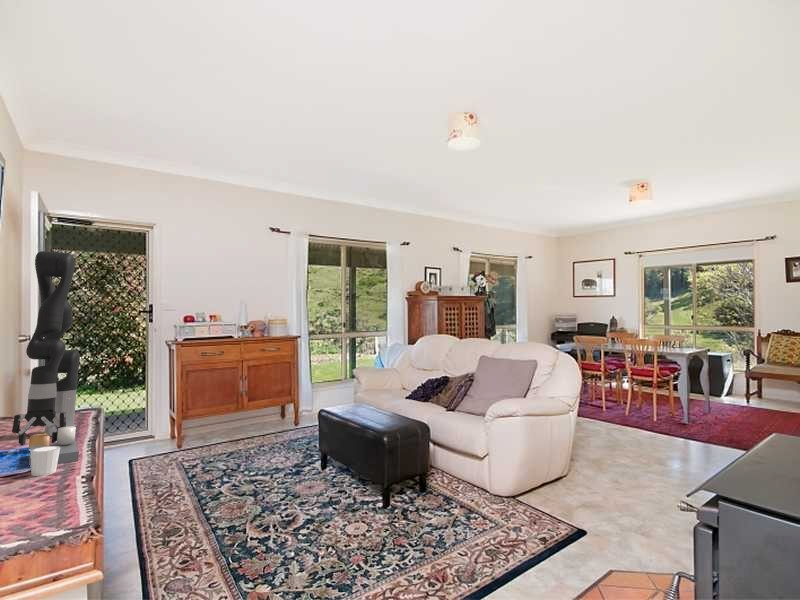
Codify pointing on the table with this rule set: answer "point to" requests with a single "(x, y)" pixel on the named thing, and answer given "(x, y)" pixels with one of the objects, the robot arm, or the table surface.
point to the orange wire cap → (36, 439)
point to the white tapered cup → (44, 460)
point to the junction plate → (62, 445)
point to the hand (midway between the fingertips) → (38, 443)
